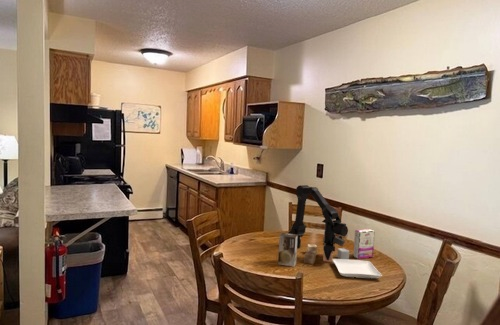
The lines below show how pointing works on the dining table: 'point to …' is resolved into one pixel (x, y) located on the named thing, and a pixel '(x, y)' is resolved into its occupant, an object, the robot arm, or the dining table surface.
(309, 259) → the walnut block
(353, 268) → the salad plate
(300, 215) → the robot arm
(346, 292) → the dining table surface
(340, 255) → the light gray block
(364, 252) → the candy bar box
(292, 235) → the coffee box
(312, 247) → the maple block
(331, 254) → the terracotta block
